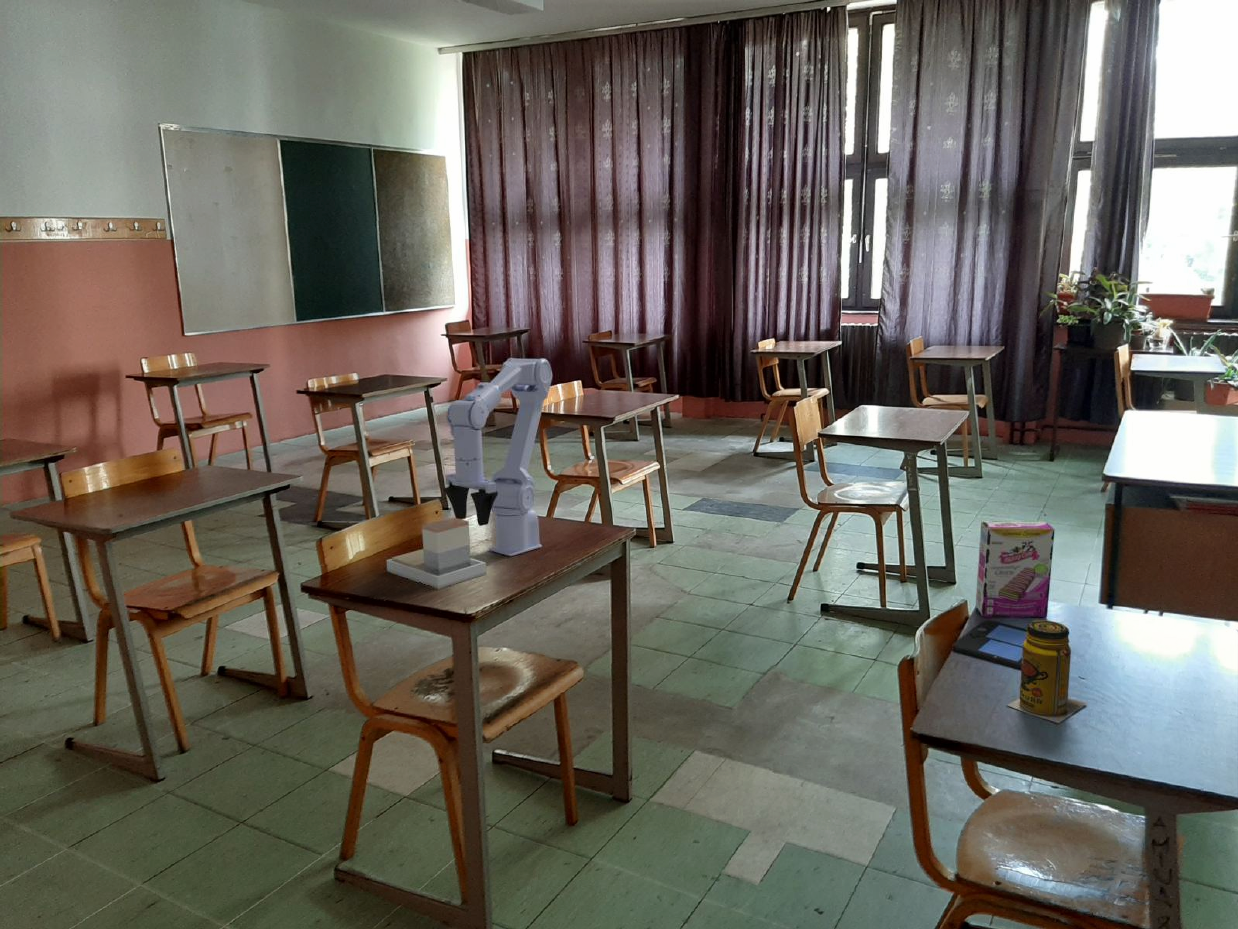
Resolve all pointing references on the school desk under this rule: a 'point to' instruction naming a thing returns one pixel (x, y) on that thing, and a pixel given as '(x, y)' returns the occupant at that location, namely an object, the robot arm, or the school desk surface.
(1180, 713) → the school desk surface
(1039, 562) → the candy bar box
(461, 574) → the tray
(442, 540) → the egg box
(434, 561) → the steel block
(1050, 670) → the condiment
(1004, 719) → the school desk surface
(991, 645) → the game console
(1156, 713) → the school desk surface
